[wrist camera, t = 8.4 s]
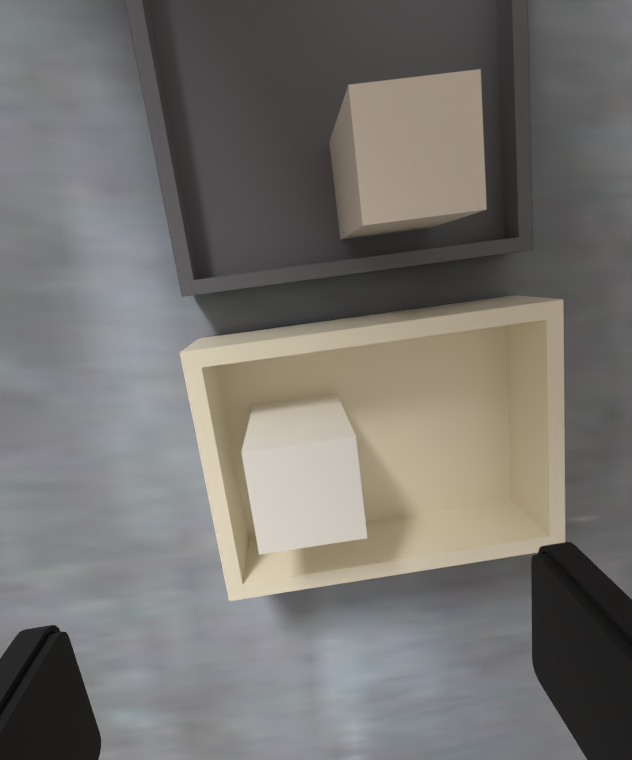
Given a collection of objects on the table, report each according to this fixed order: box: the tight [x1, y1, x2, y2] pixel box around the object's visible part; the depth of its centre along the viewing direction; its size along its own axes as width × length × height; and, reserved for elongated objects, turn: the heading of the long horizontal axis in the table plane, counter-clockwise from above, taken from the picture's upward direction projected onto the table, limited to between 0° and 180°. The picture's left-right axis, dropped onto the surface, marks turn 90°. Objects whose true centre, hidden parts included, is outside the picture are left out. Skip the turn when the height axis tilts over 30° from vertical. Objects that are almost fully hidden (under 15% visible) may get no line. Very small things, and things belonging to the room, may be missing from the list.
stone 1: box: [241, 393, 367, 555], centre depth 19 cm, size 4×4×6 cm
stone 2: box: [329, 69, 487, 240], centre depth 17 cm, size 4×4×6 cm
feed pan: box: [125, 0, 533, 297], centre depth 19 cm, size 14×15×2 cm
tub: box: [180, 295, 565, 601], centre depth 21 cm, size 11×15×4 cm
